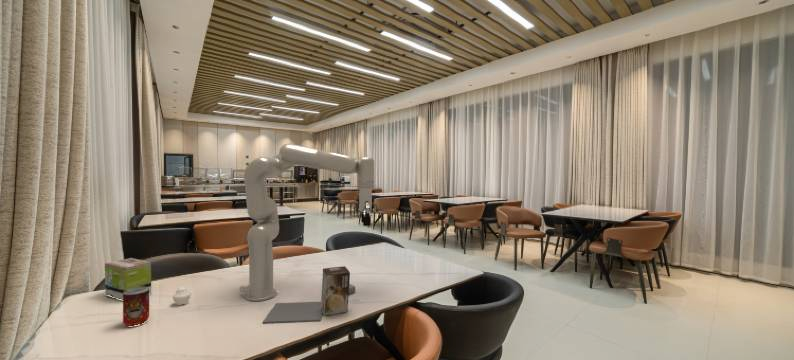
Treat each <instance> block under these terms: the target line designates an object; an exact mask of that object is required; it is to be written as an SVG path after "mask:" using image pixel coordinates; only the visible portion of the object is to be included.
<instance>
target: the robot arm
mask: <svg viewBox="0 0 794 360" xmlns="http://www.w3.org/2000/svg"><path fill="white" fill-rule="evenodd" d="M294 166H302V167H307V168H311V169H315V170H326V171H331V172H336V173H341V174H345V175H346V174H347V175H351V174H357V176H356V189H357V190H359V191H358V210H359V212H361V214H360V217H361V219H360V222H361V223H362V225H363V227H370V226H371V225H372V221H371V220H372V217H371V211H372V206H373V198H372V197H373V195H372V194H373V192H372V191H373V189H375V160H374V158H373V157H369V156H368V157H366V156H363V157H358V158H357V157H352V156H349V155H344V154H339V153H335V152H330V151H325V150H322V149H319V148H314V147H308V146H304V145H297V144H294V143H286V144H283V145H281V147H280V148H279V151H278V154H276V155H274V156H272V157H267V156H260V157H257V158H255V159H253V160H251V161H250V162H249V163H248V164H247V165H246V167H245V169H244V172H243V180H244V182H243V183H244V188H245V189H244V190H245V198H246V199H245V200H246V208H247V209H246V211H247V215H248V216H249V218H250V219H252V220H254V221H256V224H253V226H251V227H250V229H249V230H248V232H247V235H246V239H247V246H248V262H249V263H248V264H249V267H248V268H249V270H248V273H249V275H248V276H249V279H248V281H249V283H248V284H249V285H247V286H246V285H245V286H244V285H240V286H239V292H240V293H245V299H246V301H249V302H259V301H260V302H261V301H267V300H270V299H272V298H274V297H276V296H277V295H278V291H277V289H276V288H274V249H273V240H275V239H276V238H277V236H278V235H279V233H280V221H279V214H278V207H277V204H276V203H277V202H275V200H274V198H271V197H270V196H268V187H267V183H266V178H274V177H278V176H280V175H281V174H283V173H285V172H286V171H288V170H290V169H291V168H293V167H294Z"/></svg>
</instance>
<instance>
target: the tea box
mask: <svg viewBox="0 0 794 360" xmlns="http://www.w3.org/2000/svg"><path fill="white" fill-rule="evenodd" d="M104 283H105V284H104V287H105V290H104V293H105V294H106V295H110V296H112V297H115V298H118V299H122V300H123V293H124V292H125V291H126V290H128V289H130V288H134V287H139V286H144V287H148V288H149V293H151V294H152V261H150V260H149V261H147V260H144V259H137V258H133V257H130V258H125V259H124V258H123V259H120V260H115V261H111V262H106V263H104ZM105 294H104V295H105ZM106 295H105V296H106Z"/></svg>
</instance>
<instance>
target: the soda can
mask: <svg viewBox="0 0 794 360" xmlns="http://www.w3.org/2000/svg"><path fill="white" fill-rule="evenodd" d="M149 317H150V295H149V288H148V287H144V286H139V287H134V288H130V289H128V290H126V291H125V292H124V293H123V301H122V323H123V324H124V325H125V327H126V326H134V325H138V324H142V323H144V322H145V321H146V320H147V321H148V319H149Z"/></svg>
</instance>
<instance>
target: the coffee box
mask: <svg viewBox="0 0 794 360" xmlns="http://www.w3.org/2000/svg"><path fill="white" fill-rule="evenodd" d="M321 278H322V279H321V280H322V281H321V297H320V298H321V299H320V300H321V301H320V302H321V308H322V311H323V315H324V316H325V317H326V316H330V315H337V314H342V313H347V312H349V297H350V296H349V284H350V278H351V272H350V271H349V269H348V267H346V266H345V265H343V266H334V267H326V268H325V267H324V268H322V277H321Z"/></svg>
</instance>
